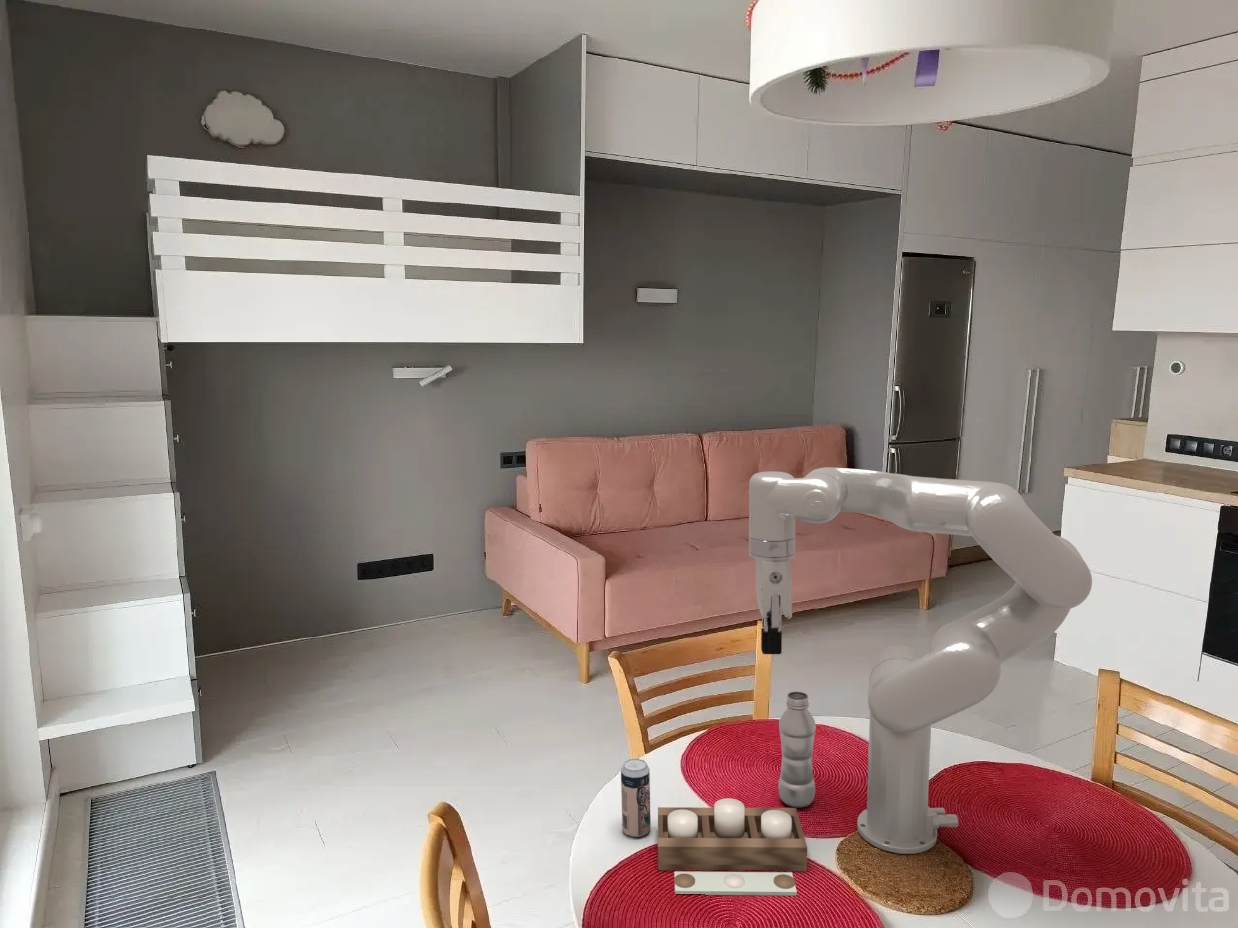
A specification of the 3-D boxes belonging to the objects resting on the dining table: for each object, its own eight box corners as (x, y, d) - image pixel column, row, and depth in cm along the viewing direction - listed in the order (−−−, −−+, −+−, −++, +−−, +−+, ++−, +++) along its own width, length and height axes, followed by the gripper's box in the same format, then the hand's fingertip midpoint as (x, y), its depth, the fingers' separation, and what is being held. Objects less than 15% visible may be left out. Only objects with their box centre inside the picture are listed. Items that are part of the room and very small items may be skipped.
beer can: (648, 840, 141) (646, 772, 139) (619, 837, 142) (618, 770, 140) (652, 824, 146) (651, 758, 144) (625, 821, 147) (623, 756, 145)
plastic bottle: (818, 796, 153) (820, 690, 150) (810, 816, 147) (812, 706, 144) (783, 789, 156) (784, 685, 153) (773, 808, 150) (774, 700, 146)
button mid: (742, 823, 140) (742, 798, 139) (745, 840, 135) (745, 814, 134) (713, 822, 140) (713, 798, 139) (715, 840, 135) (715, 814, 135)
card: (792, 875, 131) (792, 871, 131) (797, 895, 127) (797, 890, 126) (673, 874, 132) (673, 870, 132) (674, 894, 127) (674, 889, 127)
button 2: (788, 834, 140) (789, 809, 139) (793, 852, 135) (793, 826, 134) (759, 834, 140) (759, 809, 139) (763, 852, 135) (763, 826, 135)
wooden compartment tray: (795, 829, 143) (795, 807, 142) (806, 871, 132) (807, 847, 131) (658, 829, 144) (657, 807, 143) (658, 869, 133) (657, 846, 133)
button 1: (697, 834, 141) (696, 809, 140) (698, 851, 136) (698, 826, 135) (667, 833, 141) (667, 809, 140) (668, 851, 136) (667, 826, 135)
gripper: (802, 558, 134) (801, 669, 136) (788, 535, 148) (787, 636, 151) (754, 558, 134) (753, 669, 137) (744, 536, 149) (744, 636, 152)
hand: (771, 652), depth 144 cm, fingers closed
